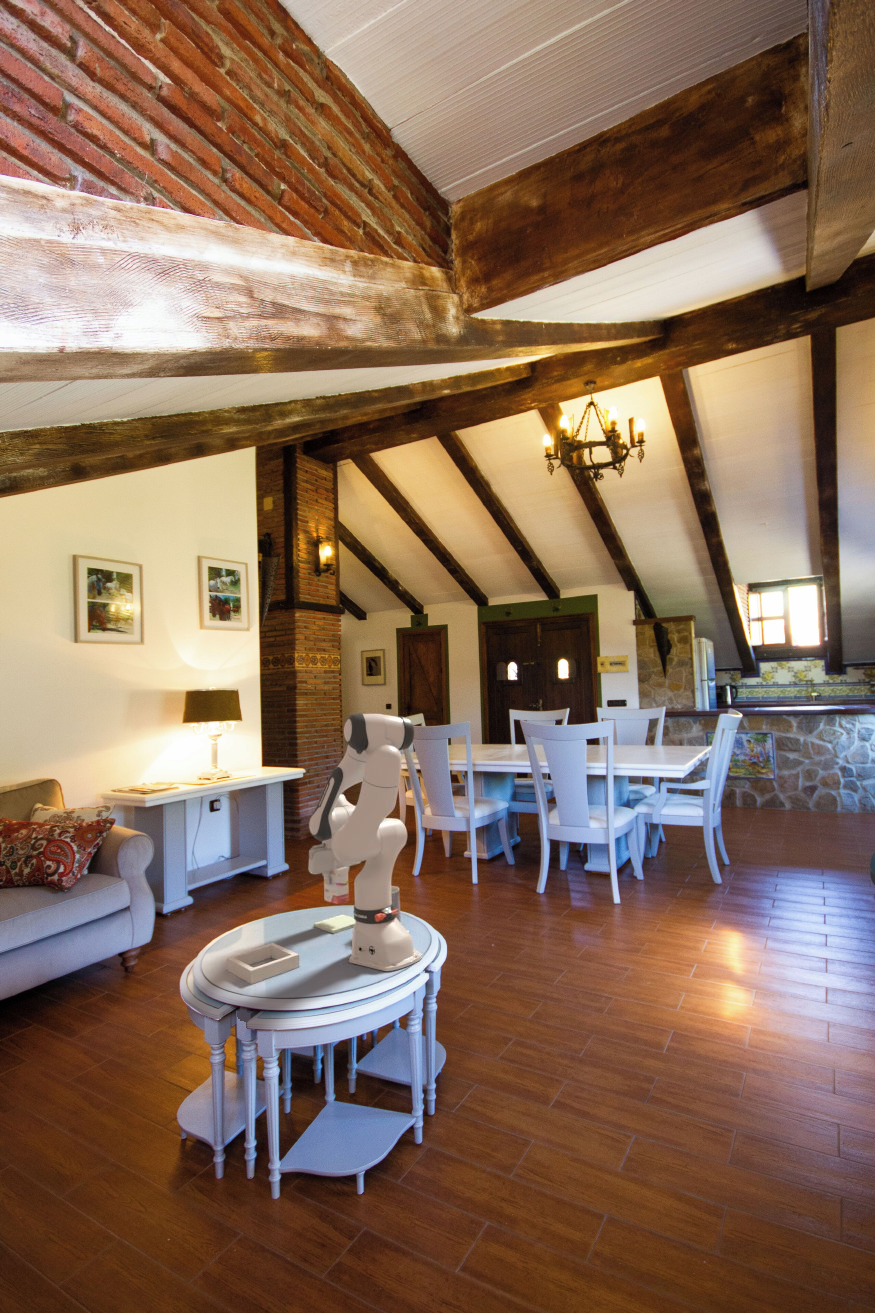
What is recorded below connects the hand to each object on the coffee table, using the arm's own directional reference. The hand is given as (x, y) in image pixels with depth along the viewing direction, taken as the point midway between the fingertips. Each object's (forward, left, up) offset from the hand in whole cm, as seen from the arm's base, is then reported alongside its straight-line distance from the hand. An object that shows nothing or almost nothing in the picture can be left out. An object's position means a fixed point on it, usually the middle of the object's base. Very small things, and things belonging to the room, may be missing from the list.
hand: (336, 882), depth 224 cm
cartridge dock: (-14, +36, -15) cm, 41 cm away
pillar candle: (-19, -6, -15) cm, 25 cm away
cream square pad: (0, 0, -15) cm, 15 cm away
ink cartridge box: (0, 0, -7) cm, 7 cm away
